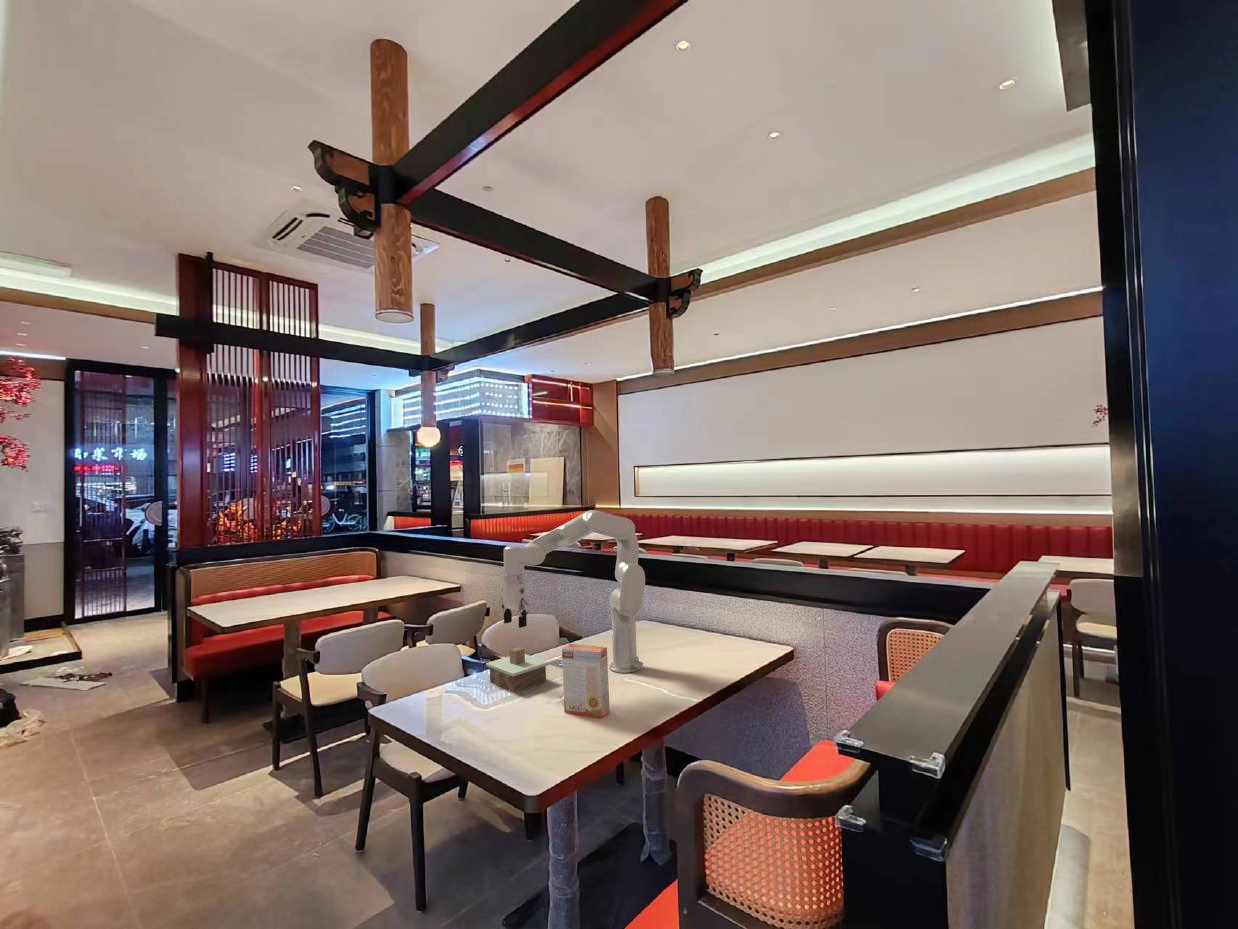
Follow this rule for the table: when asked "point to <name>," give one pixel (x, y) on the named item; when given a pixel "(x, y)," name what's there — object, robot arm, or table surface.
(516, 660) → the lid
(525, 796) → the table surface
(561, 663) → the mat
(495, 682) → the crate
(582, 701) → the cracker box
